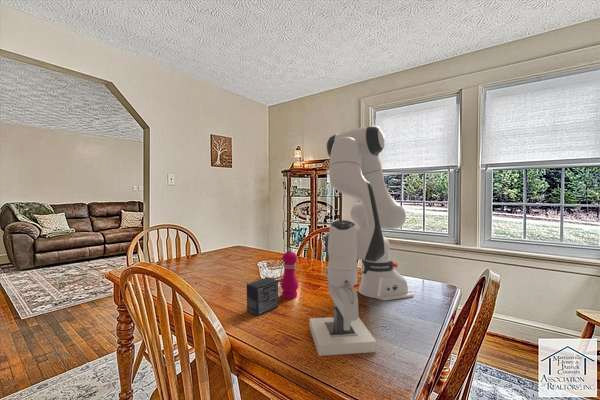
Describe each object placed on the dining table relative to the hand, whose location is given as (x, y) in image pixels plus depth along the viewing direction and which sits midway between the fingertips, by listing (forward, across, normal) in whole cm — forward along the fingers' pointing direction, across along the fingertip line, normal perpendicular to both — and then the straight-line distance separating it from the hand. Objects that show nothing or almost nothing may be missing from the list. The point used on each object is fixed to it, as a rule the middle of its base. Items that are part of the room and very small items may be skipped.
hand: (342, 322), depth 88 cm
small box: (+5, +24, +24) cm, 34 cm away
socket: (+5, 0, 0) cm, 5 cm away
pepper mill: (+5, +36, +12) cm, 38 cm away
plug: (+5, 0, 0) cm, 5 cm away
